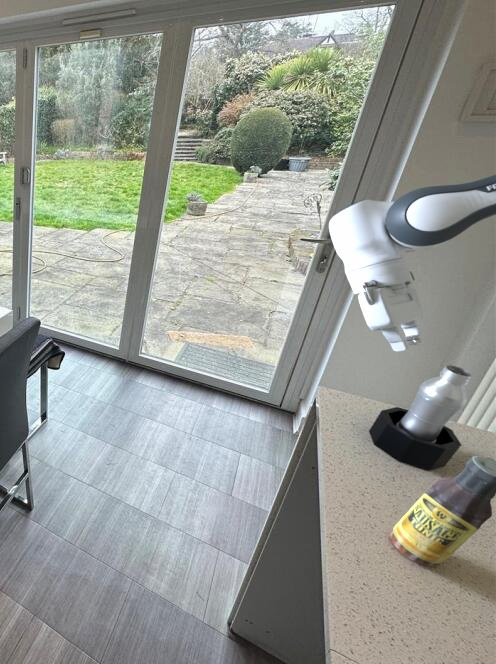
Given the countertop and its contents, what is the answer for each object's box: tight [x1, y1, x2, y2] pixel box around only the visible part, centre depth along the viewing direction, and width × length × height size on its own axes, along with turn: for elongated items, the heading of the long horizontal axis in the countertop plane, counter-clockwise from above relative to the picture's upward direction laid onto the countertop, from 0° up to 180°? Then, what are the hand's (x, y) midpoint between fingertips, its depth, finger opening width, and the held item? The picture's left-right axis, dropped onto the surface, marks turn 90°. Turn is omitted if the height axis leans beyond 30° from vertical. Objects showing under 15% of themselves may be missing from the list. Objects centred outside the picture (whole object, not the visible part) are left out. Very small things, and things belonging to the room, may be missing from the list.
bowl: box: [368, 406, 462, 472], centre depth 84 cm, size 11×11×6 cm
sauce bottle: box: [389, 455, 496, 567], centre depth 61 cm, size 6×6×20 cm
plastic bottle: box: [395, 364, 473, 443], centre depth 81 cm, size 6×7×20 cm
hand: (408, 347), depth 79 cm, fingers open, 8 cm apart
